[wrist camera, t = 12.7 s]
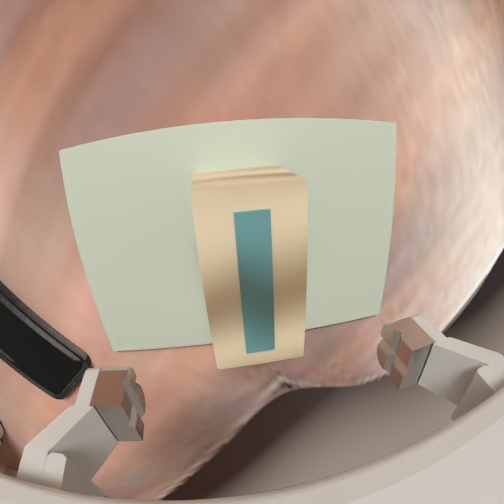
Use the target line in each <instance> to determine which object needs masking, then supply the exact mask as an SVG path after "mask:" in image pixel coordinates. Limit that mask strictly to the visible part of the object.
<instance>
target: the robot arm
mask: <svg viewBox="0 0 504 504" xmlns="http://www.w3.org/2000/svg"><path fill="white" fill-rule="evenodd" d="M381 336H382V337H383V339H382V340H381V341H380V343H379V344H378V348H377V357H378V361H379V363H380V365H381V367H382V368H383V369H384V370H387V371H389V372H390V376H389V378H390V379H391V381H392V382H393V383H394V385H395V386H396V387H397V389H398V390H400V389H403V388H405V387H408V386H411V385H413V384H416V383H418V384H419V385H421V386H422V387H424V388H426V389H428V390H430V391H432V392H433V393H435V394H437V395H439V396H441V397H443V398H445V399H446V400H448V401H450V402H452V403H454V404H456V405H457V407H456V409H455V410H454V412H453V414H452V416H451V418H452V420H453V422H451V423H449V424H448V425H446V426H444V427H442V428H441V429H439V430H437V431H435V432H433V433H431V434H430V435H428V436H426V437H424V438H422V439H420V440H418V441H416V442H414V443H412V444H410V445H408V446H406V447H403V448H401V449H399V450H397V451H395V452H393V453H390V454H388V455H386V456H383V457H381V458H379V459H376V460H373V461H371V462H368V463H366V464H363V465H361V466H358V467H355V468H352V469H349V470H346V471H343V472H340V473H337V474H334V475H331V476H327V477H324V478H321V479H317V480H313V481H310V482H306V483H302V484H298V485H294V486H289V487H285V488H280V489H275V490H270V491H265V492H259V493H253V494H248V495H240V496H232V497H224V498H213V499H200V500H180V501H179V500H178V501H177V500H176V501H154V500H131V499H118V498H108V497H104V492H103V491H102V490H101V489H100V488H99V487H98V486H97V485H95V484H94V483H93V482H92V481H91V479H92V478H93V477H94V475H95V474H96V472H97V471H98V470H99V468H100V467H101V466H102V464H103V463H104V461H105V460H106V459H107V457H108V456H109V455H110V453H111V452H112V450H113V449H114V448H115V446H116V445H117V444H118V441H143V432H144V423H143V421H142V419H141V417H142V416H143V415H144V414H145V397H144V393H143V390H142V388H141V386H140V385H139V384H137V383H136V382H135V381H136V374H135V372H134V370H133V369H132V368H130V367H128V368H88V369H87V370H86V371H85V373H84V376H83V379H82V382H81V385H80V389H79V392H78V395H77V398H76V401H75V405H74V406H69V407H68V408H67V409H66V410H65V411H64V412H63V413H61V414H60V415H59V416H58V417H57V418H56V419H55V420H54V421H52V422H51V423H50V424H49V425H48V426H47V427H46V428H45V429H43V430H42V431H41V432H40V433H39V434H38V435H37V436H36V437H35V438H33V439H32V440H31V441H30V442H29V443H28V444H27V445H26V446H25V448H24V451H23V455H22V458H21V462H20V465H19V469H18V472H17V476H16V478H14V477H11V476H8V475H5V474H2V473H0V504H504V357H503V356H502V355H501V354H500V353H497V352H493V351H490V350H487V349H484V348H481V347H478V346H475V345H472V344H469V343H466V342H463V341H460V340H457V339H454V338H451V337H448V338H446V337H445V336H444V335H443V334H442V333H441V332H440V331H439V330H438V329H437V328H436V327H435V326H434V325H433V324H432V323H430V322H429V321H428V320H427V319H426V318H425V317H424V316H423V315H421V314H416V315H413V316H410V317H408V318H405V319H401V320H398V321H395V322H391V323H388V324H385V325H384V326H383V327H382V330H381ZM3 435H4V432H3V428H2V426H1V424H0V439H1V438H2V436H3ZM1 444H2V443H1V440H0V446H1Z"/></svg>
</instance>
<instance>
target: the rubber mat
mask: <svg viewBox="0 0 504 504" xmlns="http://www.w3.org/2000/svg"><path fill="white" fill-rule="evenodd" d="M59 155H60V162H61V169H62V175H63V181H64V187H65V192H66V198H67V203H68V208H69V212H70V217H71V221H72V226H73V230H74V234H75V238H76V242H77V246H78V249H79V253H80V257H81V260H82V264H83V267H84V271H85V274H86V277H87V280H88V283H89V287H90V290H91V293H92V296H93V299H94V301H95V304H96V307H97V310H98V313H99V315H100V318H101V321H102V323H103V326H104V329H105V331H106V334H107V336H108V339H109V341H110V344H111V346H112V348H113V351H126V350H143V349H158V348H170V347H182V346H192V345H202V344H211V343H213V342H212V337H211V331H210V326H209V320H208V314H207V308H206V302H205V296H204V290H203V284H202V277H201V271H200V264H199V257H198V250H197V243H196V236H195V228H194V221H193V213H192V205H191V196H190V189H191V184H192V180H193V176H194V173H196V172H205V171H214V170H224V169H234V168H246V167H258V166H273V165H278V166H280V167H282V168H284V169H286V170H288V171H290V172H292V173H294V174H296V175H298V176H300V177H301V178H303V179H305V180H307V188H308V249H307V291H306V317H305V330H306V329H311V328H316V327H322V326H327V325H332V324H337V323H341V322H346V321H351V320H356V319H360V318H364V317H369V316H373V315H377V314H379V311H380V306H381V300H382V295H383V289H384V283H385V277H386V270H387V263H388V256H389V248H390V239H391V230H392V220H393V208H394V194H395V175H396V123H392V122H382V121H369V120H354V119H330V118H277V119H252V120H236V121H223V122H212V123H202V124H194V125H185V126H178V127H170V128H164V129H157V130H151V131H145V132H139V133H134V134H128V135H123V136H118V137H113V138H108V139H104V140H99V141H95V142H91V143H87V144H83V145H79V146H75V147H71V148H67V149H63V150H60V151H59Z"/></svg>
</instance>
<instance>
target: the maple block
mask: <svg viewBox="0 0 504 504" xmlns="http://www.w3.org/2000/svg"><path fill="white" fill-rule="evenodd" d="M190 196H191V205H192V213H193V221H194V228H195V236H196V243H197V250H198V257H199V264H200V271H201V277H202V284H203V290H204V296H205V302H206V308H207V314H208V320H209V326H210V331H211V337H212V342H213V348H214V353H215V358H216V364H217V369H225V368H233V367H241V366H248V365H255V364H261V363H268V362H274V361H280V360H285V359H291V358H296V357H302V356H303V354H304V337H305V317H306V291H307V249H308V188H307V180H305V179H303V178H301V177H300V176H298V175H296V174H294V173H292V172H290V171H288V170H286V169H284V168H282V167H280V166H278V165H273V166H258V167H246V168H234V169H224V170H214V171H205V172H196V173H194V176H193V180H192V184H191V189H190Z"/></svg>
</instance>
